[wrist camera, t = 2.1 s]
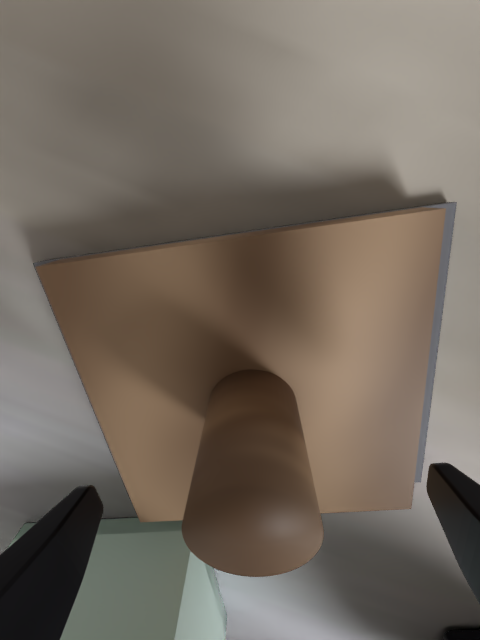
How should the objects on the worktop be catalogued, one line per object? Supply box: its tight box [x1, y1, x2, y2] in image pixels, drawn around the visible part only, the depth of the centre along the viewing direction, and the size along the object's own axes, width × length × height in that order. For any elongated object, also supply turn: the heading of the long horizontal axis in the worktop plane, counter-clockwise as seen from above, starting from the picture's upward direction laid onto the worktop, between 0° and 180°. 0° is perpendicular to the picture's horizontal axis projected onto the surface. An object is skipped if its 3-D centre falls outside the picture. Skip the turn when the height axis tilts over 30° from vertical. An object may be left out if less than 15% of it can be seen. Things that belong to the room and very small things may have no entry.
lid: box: [36, 207, 446, 577], centre depth 9 cm, size 12×12×6 cm
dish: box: [7, 518, 227, 640], centre depth 15 cm, size 10×10×5 cm
